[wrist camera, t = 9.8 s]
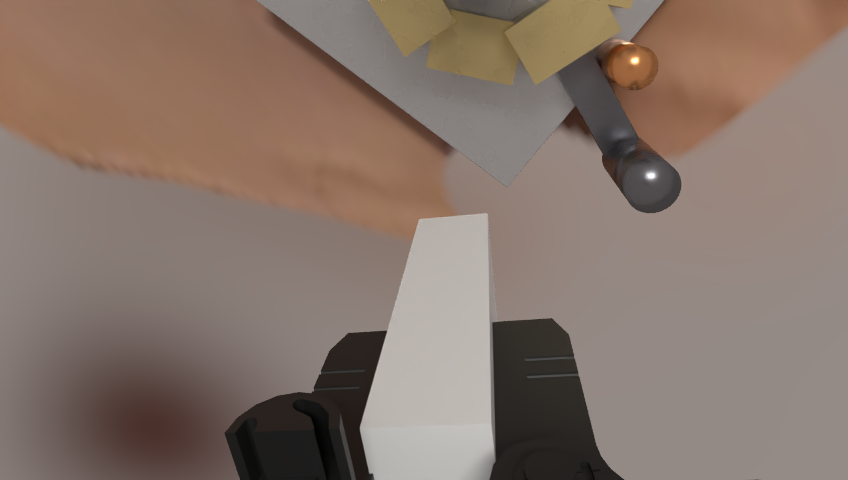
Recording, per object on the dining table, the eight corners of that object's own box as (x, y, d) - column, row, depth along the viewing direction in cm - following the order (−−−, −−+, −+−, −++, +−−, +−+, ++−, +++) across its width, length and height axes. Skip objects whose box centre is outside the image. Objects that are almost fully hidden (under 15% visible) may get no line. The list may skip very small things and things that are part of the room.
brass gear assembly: (312, -107, 30) (273, -131, 24) (553, -315, 25) (573, -400, 20) (532, 235, 36) (541, 278, 30) (754, 112, 32) (811, 136, 26)
